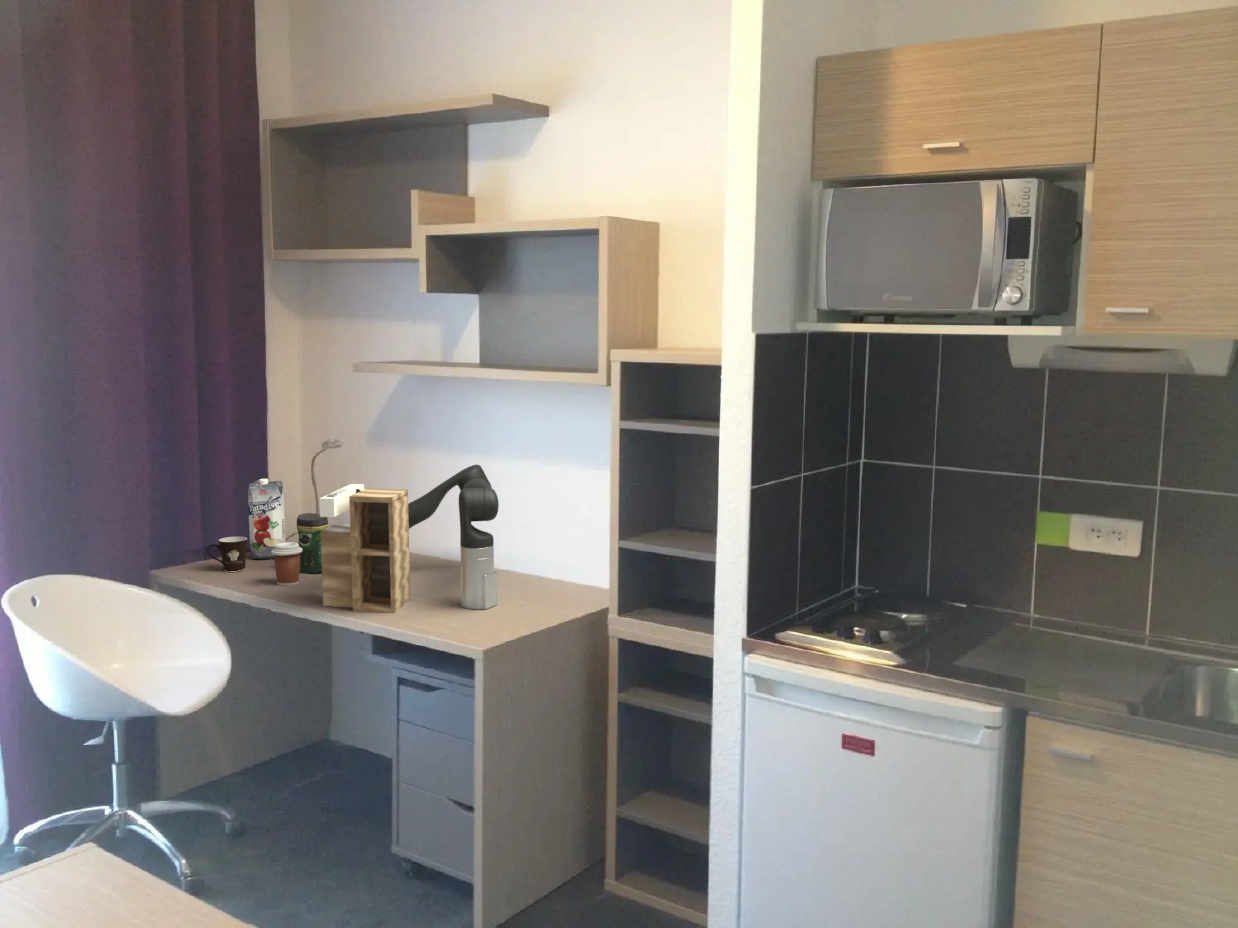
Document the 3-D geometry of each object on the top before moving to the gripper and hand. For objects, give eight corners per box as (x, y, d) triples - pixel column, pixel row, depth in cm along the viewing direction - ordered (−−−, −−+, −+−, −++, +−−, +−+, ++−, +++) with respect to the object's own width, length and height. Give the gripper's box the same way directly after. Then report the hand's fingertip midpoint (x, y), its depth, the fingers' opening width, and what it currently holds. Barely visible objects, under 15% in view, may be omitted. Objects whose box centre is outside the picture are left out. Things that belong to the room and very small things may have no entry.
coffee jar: (334, 569, 347) (332, 512, 344) (316, 575, 340) (314, 516, 337) (311, 566, 351) (309, 510, 349) (293, 571, 344) (291, 514, 342)
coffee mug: (253, 567, 350) (251, 536, 349) (241, 573, 342) (239, 542, 341) (218, 566, 352) (217, 536, 350) (206, 572, 343) (204, 541, 342)
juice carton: (256, 554, 369) (252, 476, 365) (287, 554, 369) (284, 476, 366) (248, 560, 360) (245, 480, 356) (281, 560, 360) (277, 480, 357)
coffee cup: (306, 579, 334) (305, 541, 333) (300, 586, 325) (298, 547, 324) (276, 579, 334) (274, 541, 332) (269, 586, 325) (267, 547, 323)
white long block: (351, 500, 317) (350, 482, 316) (364, 501, 316) (363, 482, 316) (320, 516, 293) (319, 497, 293) (334, 516, 293) (333, 497, 292)
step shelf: (338, 595, 315) (335, 486, 311) (412, 597, 312) (409, 488, 308) (317, 610, 299) (313, 495, 295) (395, 612, 297) (392, 497, 292)
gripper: (346, 499, 327) (326, 479, 311) (392, 500, 326) (375, 480, 310) (342, 523, 324) (322, 503, 309) (388, 524, 323) (371, 504, 307)
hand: (349, 492), depth 309 cm, fingers closed on white long block, 4 cm apart
